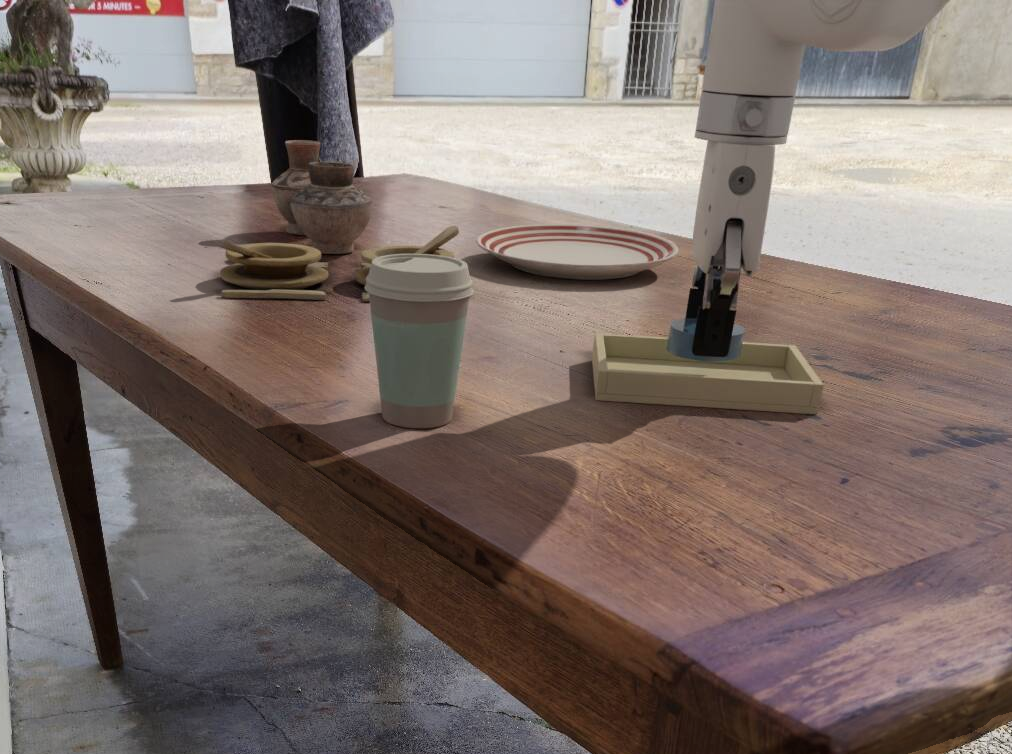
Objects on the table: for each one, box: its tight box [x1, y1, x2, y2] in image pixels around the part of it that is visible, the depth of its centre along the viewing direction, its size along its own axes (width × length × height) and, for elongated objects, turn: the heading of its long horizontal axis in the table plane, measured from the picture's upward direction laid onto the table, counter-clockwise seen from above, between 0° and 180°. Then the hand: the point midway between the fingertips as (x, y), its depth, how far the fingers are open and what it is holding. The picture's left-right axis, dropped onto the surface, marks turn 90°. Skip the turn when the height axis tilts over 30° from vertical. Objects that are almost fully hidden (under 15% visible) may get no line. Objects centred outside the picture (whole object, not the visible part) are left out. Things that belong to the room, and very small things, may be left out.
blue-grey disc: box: [666, 317, 746, 362], centre depth 96 cm, size 7×7×2 cm
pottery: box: [270, 139, 374, 255], centre depth 148 cm, size 11×25×12 cm, turn 22°
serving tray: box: [591, 332, 825, 415], centre depth 97 cm, size 20×14×3 cm
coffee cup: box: [364, 254, 475, 430], centre depth 84 cm, size 8×8×12 cm
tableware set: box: [219, 225, 460, 302], centre depth 127 cm, size 30×20×6 cm, turn 95°
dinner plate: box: [476, 223, 679, 281], centre depth 143 cm, size 28×27×3 cm
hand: (704, 343), depth 96 cm, fingers closed on blue-grey disc, 6 cm apart
